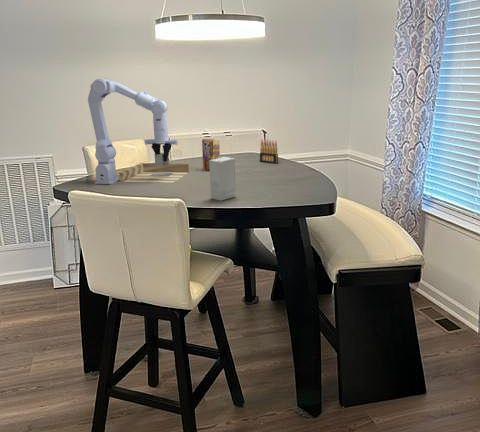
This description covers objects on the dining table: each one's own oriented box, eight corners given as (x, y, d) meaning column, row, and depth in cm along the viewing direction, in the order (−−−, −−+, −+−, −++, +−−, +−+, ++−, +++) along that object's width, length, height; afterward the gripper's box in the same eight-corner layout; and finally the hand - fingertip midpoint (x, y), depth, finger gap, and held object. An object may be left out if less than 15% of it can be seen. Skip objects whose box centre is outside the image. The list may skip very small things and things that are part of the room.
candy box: (221, 171, 242) (219, 139, 238) (213, 173, 239) (212, 140, 235) (209, 169, 249) (208, 138, 244) (202, 170, 246) (201, 139, 242)
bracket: (162, 166, 217) (162, 154, 216) (150, 166, 218) (149, 154, 217) (169, 163, 225) (168, 152, 224) (157, 164, 226) (156, 152, 225)
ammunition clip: (259, 162, 265) (259, 139, 262) (261, 161, 267) (261, 138, 263) (276, 164, 259) (276, 140, 255) (278, 163, 260) (278, 140, 257)
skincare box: (225, 194, 196) (224, 156, 192) (236, 196, 192) (235, 157, 188) (209, 198, 190) (208, 159, 186) (221, 201, 186) (219, 161, 182)
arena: (173, 184, 216) (172, 173, 215) (120, 183, 221) (119, 172, 220) (189, 173, 239) (188, 163, 238) (141, 172, 244) (140, 163, 243)
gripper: (179, 128, 219) (181, 159, 223) (148, 128, 222) (150, 159, 226) (174, 130, 212) (176, 162, 216) (141, 130, 215) (144, 162, 219)
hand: (162, 161), depth 220 cm, fingers closed on bracket, 2 cm apart
